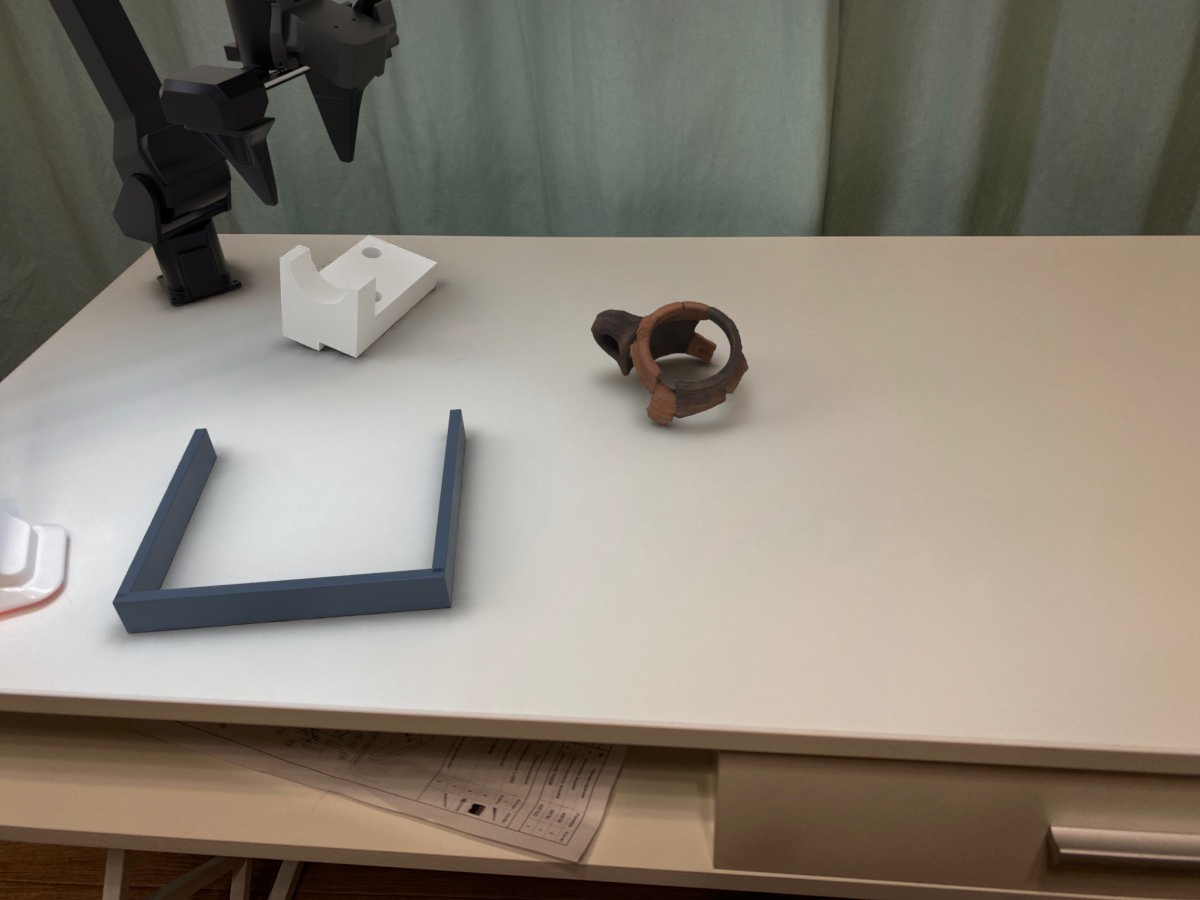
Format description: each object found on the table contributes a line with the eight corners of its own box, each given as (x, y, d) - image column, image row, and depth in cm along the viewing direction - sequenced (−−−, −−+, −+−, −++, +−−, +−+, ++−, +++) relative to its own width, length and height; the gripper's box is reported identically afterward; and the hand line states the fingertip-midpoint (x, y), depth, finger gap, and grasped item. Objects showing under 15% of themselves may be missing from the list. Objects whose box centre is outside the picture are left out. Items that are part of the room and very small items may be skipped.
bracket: (356, 367, 78) (357, 290, 73) (282, 335, 79) (279, 258, 74) (434, 295, 87) (440, 223, 82) (367, 267, 88) (370, 195, 83)
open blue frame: (206, 456, 67) (195, 428, 66) (466, 436, 68) (461, 408, 66) (127, 633, 54) (111, 603, 53) (451, 607, 54) (444, 576, 53)
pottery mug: (748, 363, 74) (770, 309, 67) (711, 467, 71) (729, 422, 63) (606, 313, 76) (612, 254, 68) (563, 413, 72) (563, 362, 65)
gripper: (258, -2, 54) (318, 247, 64) (434, -61, 68) (462, 153, 77) (118, -12, 58) (194, 224, 68) (310, -66, 72) (351, 138, 81)
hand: (311, 182), depth 73 cm, fingers open, 9 cm apart
